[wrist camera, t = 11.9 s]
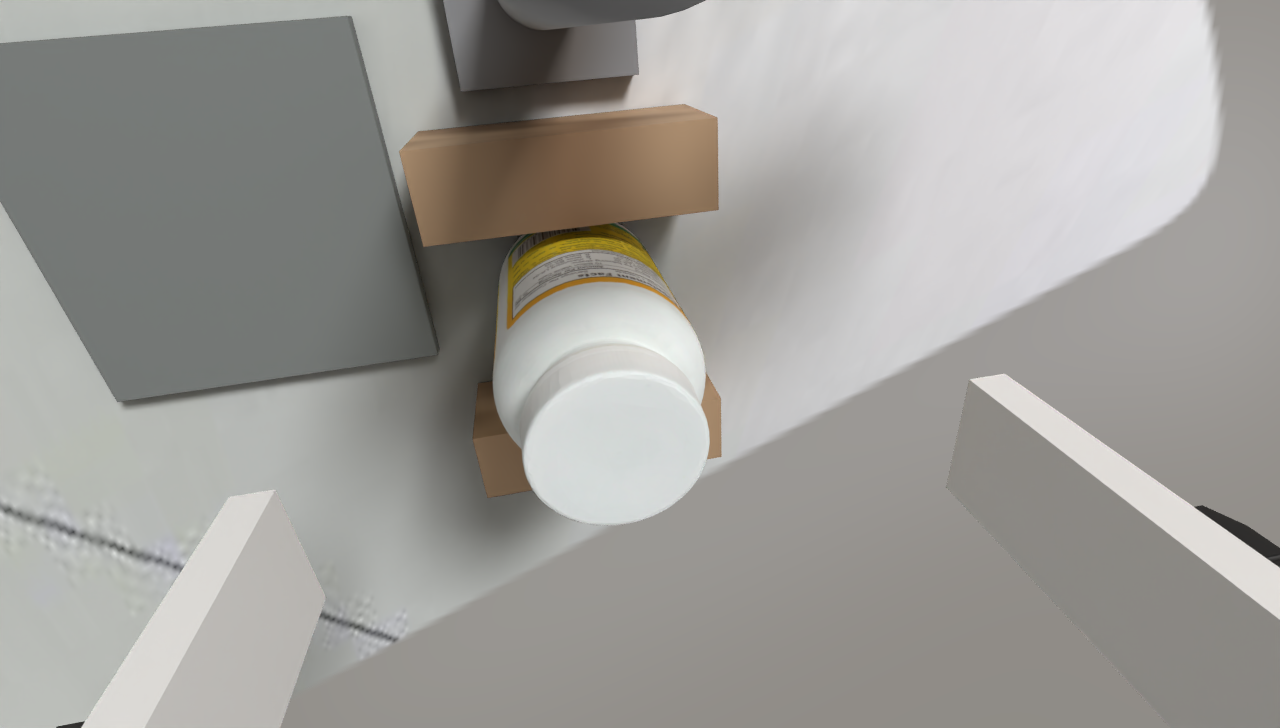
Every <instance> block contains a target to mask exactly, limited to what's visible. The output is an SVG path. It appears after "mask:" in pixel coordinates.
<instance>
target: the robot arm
mask: <svg viewBox="0 0 1280 728" xmlns="http://www.w3.org/2000/svg"><path fill="white" fill-rule="evenodd" d="M946 488H947V489H948V490H949V491H950V492H951V493H952V494H953V495H954V496H955V497H956V498H957V499H958V501H959V502H960V503H961V504H962V505H963V506H964V507H965V508H966V509H967V510H968V511H969V512H970V514H971V515H972V516H973V517H974V518H975V519H976V520H977V521H978V522H979V523H980V524H981V525H982V526H983V527H984V529H985V530H986V531H987V532H988V533H989V534H990V535H991V536H992V537H993V538H994V539H995V540H996V541H997V542H998V544H999V545H1000V546H1001V547H1002V548H1003V549H1004V550H1005V551H1006V552H1007V553H1008V554H1009V555H1010V556H1011V558H1012V559H1013V560H1014V561H1015V562H1016V563H1017V564H1018V565H1019V566H1020V567H1021V568H1022V569H1023V570H1024V571H1025V573H1026V574H1027V575H1028V576H1029V577H1030V578H1031V579H1032V580H1033V581H1034V582H1035V583H1036V584H1037V585H1038V586H1039V588H1041V590H1042V591H1043V592H1044V593H1045V594H1046V595H1047V596H1048V597H1049V598H1050V599H1051V600H1052V602H1054V604H1055V605H1056V606H1057V607H1058V608H1059V609H1060V610H1061V611H1062V612H1063V613H1064V614H1065V615H1066V616H1067V618H1068V619H1069V620H1070V621H1071V622H1072V623H1073V624H1074V625H1075V626H1076V627H1077V628H1078V629H1079V630H1080V632H1081V633H1082V634H1083V635H1084V636H1085V637H1086V638H1087V639H1088V640H1089V641H1090V642H1091V643H1092V644H1093V645H1094V647H1095V648H1096V649H1097V650H1098V651H1099V652H1100V653H1101V654H1102V655H1103V656H1104V657H1105V658H1106V659H1107V660H1108V661H1109V663H1110V664H1111V665H1112V666H1113V667H1114V668H1115V669H1116V670H1117V671H1118V672H1119V673H1120V674H1121V675H1122V677H1123V678H1124V679H1125V680H1126V681H1127V682H1128V683H1129V684H1130V685H1131V686H1132V687H1133V688H1134V689H1135V690H1136V692H1138V694H1139V695H1140V696H1141V697H1142V698H1143V699H1144V700H1145V701H1146V702H1147V703H1148V704H1149V705H1150V707H1151V708H1152V709H1153V710H1154V711H1155V712H1156V713H1157V714H1158V715H1159V716H1160V717H1161V718H1162V719H1163V721H1164V722H1165V723H1166V724H1167V725H1168V726H1169V727H1170V728H1280V548H1279V547H1278V546H1276V545H1274V544H1273V543H1272V542H1270V541H1269V540H1267V539H1266V538H1264V537H1263V536H1261V535H1260V534H1258V533H1257V532H1255V531H1254V530H1253V529H1251V528H1250V527H1248V526H1246V525H1244V524H1242V523H1240V522H1238V521H1235V520H1233V519H1231V518H1229V517H1227V516H1224V515H1222V514H1220V513H1218V512H1216V511H1214V510H1211V509H1209V508H1207V507H1204V506H1197V507H1193V506H1191V505H1190V504H1188V503H1187V502H1186V501H1184V500H1183V499H1181V498H1180V497H1179V496H1177V495H1176V494H1174V493H1173V492H1172V491H1170V490H1169V489H1167V488H1166V487H1165V486H1163V485H1162V484H1160V483H1159V482H1157V481H1156V480H1155V479H1153V478H1152V477H1150V476H1149V475H1148V474H1146V473H1145V472H1143V471H1142V470H1140V469H1139V468H1138V467H1136V466H1135V465H1133V464H1132V463H1131V462H1129V461H1128V460H1126V459H1125V458H1123V457H1122V456H1121V455H1119V454H1118V453H1116V452H1115V451H1113V450H1112V449H1111V448H1109V447H1108V446H1106V445H1105V444H1103V443H1102V442H1101V441H1099V440H1098V439H1096V438H1095V437H1093V436H1092V435H1091V434H1089V433H1088V432H1086V431H1085V430H1084V429H1082V428H1081V427H1079V426H1078V425H1077V424H1075V423H1074V422H1072V421H1071V420H1069V419H1068V418H1067V417H1065V416H1064V415H1062V414H1061V413H1060V412H1058V411H1057V410H1055V409H1054V408H1052V407H1051V406H1050V405H1048V404H1047V403H1045V402H1044V401H1043V400H1041V399H1040V398H1038V397H1037V396H1035V395H1034V394H1033V393H1031V392H1030V391H1028V390H1027V389H1025V388H1024V387H1023V386H1021V385H1020V384H1018V383H1017V382H1016V381H1014V380H1013V379H1011V378H1010V377H1008V376H1007V375H1006V374H1000V375H994V376H988V377H982V378H975V379H969V383H968V387H967V392H966V397H965V402H964V406H963V410H962V415H961V420H960V424H959V429H958V434H957V438H956V443H955V448H954V452H953V457H952V462H951V466H950V471H949V476H948V480H947V485H946ZM325 600H326V596H325V594H324V592H323V590H322V588H321V586H320V584H319V581H318V579H317V577H316V575H315V573H314V571H313V569H312V567H311V564H310V562H309V560H308V558H307V556H306V554H305V552H304V550H303V547H302V545H301V543H300V541H299V539H298V537H297V535H296V533H295V530H294V528H293V526H292V524H291V522H290V520H289V518H288V515H287V513H286V511H285V509H284V507H283V505H282V503H281V501H280V498H279V496H278V494H277V492H276V490H269V491H263V492H257V493H250V494H244V495H238V496H231V497H229V498H228V499H227V501H226V502H225V504H224V506H223V507H222V509H221V510H220V512H219V513H218V515H217V516H216V518H215V520H214V521H213V523H212V524H211V526H210V527H209V529H208V531H207V532H206V534H205V535H204V537H203V538H202V540H201V541H200V543H199V545H198V546H197V548H196V549H195V551H194V552H193V554H192V556H191V557H190V559H189V560H188V562H187V563H186V565H185V566H184V568H183V570H182V571H181V573H180V574H179V576H178V577H177V579H176V580H175V582H174V584H173V585H172V587H171V588H170V590H169V591H168V593H167V595H166V596H165V598H164V599H163V601H162V602H161V604H160V605H159V607H158V609H157V610H156V612H155V613H154V615H153V616H152V618H151V619H150V621H149V623H148V624H147V626H146V627H145V629H144V630H143V632H142V634H141V635H140V637H139V638H138V640H137V641H136V643H135V644H134V646H133V648H132V649H131V651H130V652H129V654H128V655H127V657H126V659H125V660H124V662H123V663H122V665H121V666H120V668H119V669H118V671H117V673H116V674H115V676H114V677H113V679H112V680H111V682H110V683H109V685H108V687H107V688H106V690H105V691H104V693H103V694H102V696H101V698H100V699H99V701H98V702H97V704H96V705H95V707H94V708H93V710H92V712H91V713H90V715H89V716H88V718H87V719H86V721H84V722H79V723H74V724H68V725H63V726H58V727H56V728H280V727H281V724H282V721H283V719H284V716H285V713H286V710H287V707H288V704H289V702H290V699H291V696H292V693H293V690H294V687H295V685H296V682H297V679H298V676H299V673H300V670H301V668H302V665H303V662H304V659H305V656H306V653H307V651H308V648H309V645H310V642H311V639H312V636H313V634H314V631H315V628H316V625H317V622H318V620H319V617H320V614H321V611H322V608H323V605H324V603H325Z"/></svg>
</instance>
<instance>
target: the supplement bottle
mask: <svg viewBox="0 0 1280 728" xmlns="http://www.w3.org/2000/svg"><path fill="white" fill-rule="evenodd" d="M705 379H706V371H705V362H704V355H703V351H702V348H701V345H700V342H699V340H698V338H697V336H696V333H695V331H694V329H693V328H692V326H691V324H690V323H689V321H688V319H687V317H686V316H685V314H684V313H683V311H682V309H681V307H680V306H679V304H678V303H677V301H676V299H675V298H674V296H673V294H672V292H671V291H670V289H669V287H668V286H667V284H666V283H665V281H664V279H663V278H662V276H661V274H660V272H659V271H658V269H657V267H656V266H655V264H654V262H653V261H652V259H651V257H650V256H649V254H648V252H647V251H646V249H645V248H644V246H643V245H642V244H641V242H640V241H639V240H638V238H637V237H636V236H635V235H634V234H633V233H632V232H630V231H629V230H628V229H627V228H625V227H624V226H622V225H620V224H619V223H610V224H602V225H594V226H586V227H578V228H570V229H562V230H554V231H546V232H538V233H530V234H523V235H522V236H521V237H520V238H519V239H518V240H517V241H516V242H515V244H514V245H513V246H512V248H511V249H510V251H509V252H508V254H507V256H506V258H505V260H504V263H503V266H502V269H501V273H500V278H499V285H498V303H497V321H496V338H495V351H494V367H493V393H494V400H495V405H496V408H497V412H498V414H499V417H500V419H501V421H502V424H503V426H504V427H505V429H506V431H507V432H508V434H509V435H510V437H511V438H512V439H513V440H514V442H515V443H516V444H517V445H518V446H519V447H520V448H521V449H522V462H523V466H524V471H525V475H526V478H527V480H528V482H529V484H530V486H531V488H532V490H533V491H534V492H535V494H536V495H537V496H538V498H539V499H540V500H541V501H542V502H543V503H545V504H546V505H547V506H548V507H549V508H550V509H552V510H554V511H555V512H557V513H558V514H560V515H562V516H564V517H566V518H568V519H571V520H574V521H577V522H581V523H586V524H592V525H604V526H608V525H622V524H628V523H634V522H638V521H641V520H644V519H647V518H649V517H652V516H654V515H656V514H658V513H660V512H662V511H664V510H666V509H667V508H669V507H670V506H672V505H673V504H675V503H676V502H677V501H678V500H679V499H681V498H682V497H683V496H684V495H685V494H686V493H687V492H688V491H689V490H690V489H691V488H692V486H693V485H694V484H695V482H696V481H697V479H698V478H699V476H700V474H701V473H702V470H703V468H704V466H705V463H706V460H707V456H708V452H709V445H710V437H709V428H708V423H707V419H706V416H705V414H704V411H703V409H702V406H701V402H702V399H703V395H704V389H705Z"/></svg>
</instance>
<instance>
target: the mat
mask: <svg viewBox="0 0 1280 728" xmlns="http://www.w3.org/2000/svg"><path fill="white" fill-rule="evenodd" d="M0 202H1V203H2V205H3V207H4V208H5V210H6V212H7V214H8V215H9V217H10V219H11V220H12V222H13V224H14V226H15V227H16V229H17V231H18V232H19V234H20V236H21V238H22V239H23V241H24V243H25V245H26V246H27V248H28V250H29V251H30V253H31V255H32V257H33V258H34V260H35V262H36V263H37V265H38V267H39V269H40V270H41V272H42V274H43V275H44V277H45V279H46V281H47V282H48V284H49V286H50V287H51V289H52V291H53V293H54V294H55V296H56V298H57V299H58V301H59V303H60V305H61V306H62V308H63V310H64V311H65V313H66V315H67V317H68V318H69V320H70V322H71V323H72V325H73V327H74V329H75V330H76V332H77V334H78V335H79V337H80V339H81V341H82V342H83V344H84V346H85V347H86V349H87V351H88V353H89V354H90V356H91V358H92V359H93V361H94V363H95V365H96V366H97V368H98V370H99V371H100V373H101V375H102V377H103V378H104V380H105V382H106V383H107V385H108V387H109V389H110V390H111V392H112V394H113V396H114V397H115V399H116V401H117V402H120V401H127V400H134V399H141V398H148V397H154V396H161V395H168V394H175V393H182V392H189V391H195V390H202V389H209V388H216V387H223V386H229V385H236V384H243V383H250V382H257V381H263V380H270V379H277V378H284V377H291V376H297V375H304V374H311V373H318V372H325V371H331V370H338V369H345V368H352V367H359V366H366V365H372V364H379V363H386V362H393V361H400V360H406V359H413V358H420V357H427V356H434V355H438V352H439V345H438V341H437V337H436V334H435V330H434V326H433V322H432V319H431V315H430V311H429V307H428V303H427V300H426V296H425V292H424V288H423V285H422V281H421V277H420V273H419V269H418V266H417V262H416V258H415V254H414V250H413V247H412V243H411V239H410V235H409V232H408V228H407V224H406V220H405V216H404V213H403V209H402V205H401V201H400V198H399V194H398V190H397V186H396V182H395V179H394V175H393V171H392V167H391V164H390V160H389V156H388V152H387V148H386V145H385V141H384V137H383V133H382V130H381V126H380V122H379V118H378V114H377V111H376V107H375V103H374V99H373V95H372V92H371V88H370V84H369V80H368V77H367V73H366V69H365V65H364V61H363V58H362V54H361V50H360V46H359V43H358V39H357V35H356V31H355V27H354V24H353V20H352V17H351V16H341V17H329V18H316V19H303V20H291V21H278V22H265V23H253V24H240V25H227V26H214V27H202V28H189V29H176V30H164V31H151V32H138V33H126V34H113V35H100V36H88V37H75V38H62V39H50V40H37V41H24V42H12V43H0Z"/></svg>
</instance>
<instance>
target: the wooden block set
mask: <svg viewBox="0 0 1280 728" xmlns="http://www.w3.org/2000/svg"><path fill="white" fill-rule="evenodd" d="M443 3H444V8H445V13H446V18H447V23H448V28H449V33H450V38H451V43H452V48H453V53H454V58H455V63H456V68H457V73H458V78H459V83H460V88H461V92H462V91H472V90H483V89H493V88H503V87H514V86H524V85H535V84H545V83H556V82H566V81H577V80H587V79H598V78H608V77H619V76H629V75H639V68H638V53H637V38H636V24H635V20H630V21H621V22H612V23H603V24H595V25H586V26H577V27H569V28H560V29H551V30H534V29H530V28H526V27H524V26H522V25H520V24H519V23H517V22H515V21H514V20H513V19H512V18H511V17H509V16H508V14H507V13H506V12H505V11H504V10H503V8H502V7H501V6H500V4H499V2H498V0H443ZM399 153H400V157H401V161H402V165H403V169H404V173H405V177H406V180H407V184H408V188H409V192H410V196H411V200H412V204H413V208H414V212H415V216H416V220H417V224H418V227H419V231H420V235H421V239H422V243H423V247H426V246H434V245H442V244H450V243H458V242H466V241H474V240H482V239H490V238H498V237H506V236H514V235H522V234H530V233H538V232H546V231H554V230H562V229H570V228H578V227H586V226H594V225H602V224H610V223H618V222H626V221H634V220H642V219H650V218H658V217H666V216H674V215H682V214H690V213H698V212H706V211H714V210H719V207H718V121H717V117H715V116H712V115H710V114H707V113H705V112H702V111H700V110H697V109H695V108H692V107H690V106H688V105H685V104H682V105H672V106H662V107H653V108H643V109H633V110H623V111H614V112H604V113H594V114H584V115H575V116H565V117H555V118H545V119H536V120H526V121H516V122H506V123H497V124H487V125H477V126H467V127H458V128H448V129H438V130H428V131H419V132H417V133H416V134H415V136H414V137H413V138H412V139H411V140H410V141H409V142H408V143H407V144H406V145H405V146H404V147H403V148H402V149H401V150H400V151H399ZM701 406H702V409H703V411H704V414H705V416H706V419H707V423H708V428H709V437H710V445H709V452H708V456H707V459H711V458H717V457H721V398H720V396H719V394H718V393H717V391H716V389H715V387H714V386H713V384H712V382H711V380H710V379H709V377H708V375H707V373H706V379H705V389H704V395H703V399H702V402H701ZM473 443H474V447H475V451H476V454H477V458H478V462H479V466H480V470H481V474H482V478H483V482H484V486H485V490H486V494H487V497H488V498H491V497H497V496H502V495H508V494H513V493H519V492H525V491H530V490H532V488H531V486H530V484H529V482H528V480H527V478H526V475H525V471H524V466H523V462H522V449H521V448H520V447H519V446H518V445H517V444H516V443H515V442H514V440H513V439H512V438H511V437H510V435H509V434H508V432H507V431H506V429H505V427H504V426H503V424H502V421H501V419H500V417H499V414H498V412H497V408H496V405H495V400H494V393H493V381H490V382H484V383H478V389H477V399H476V409H475V420H474V430H473Z"/></svg>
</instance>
